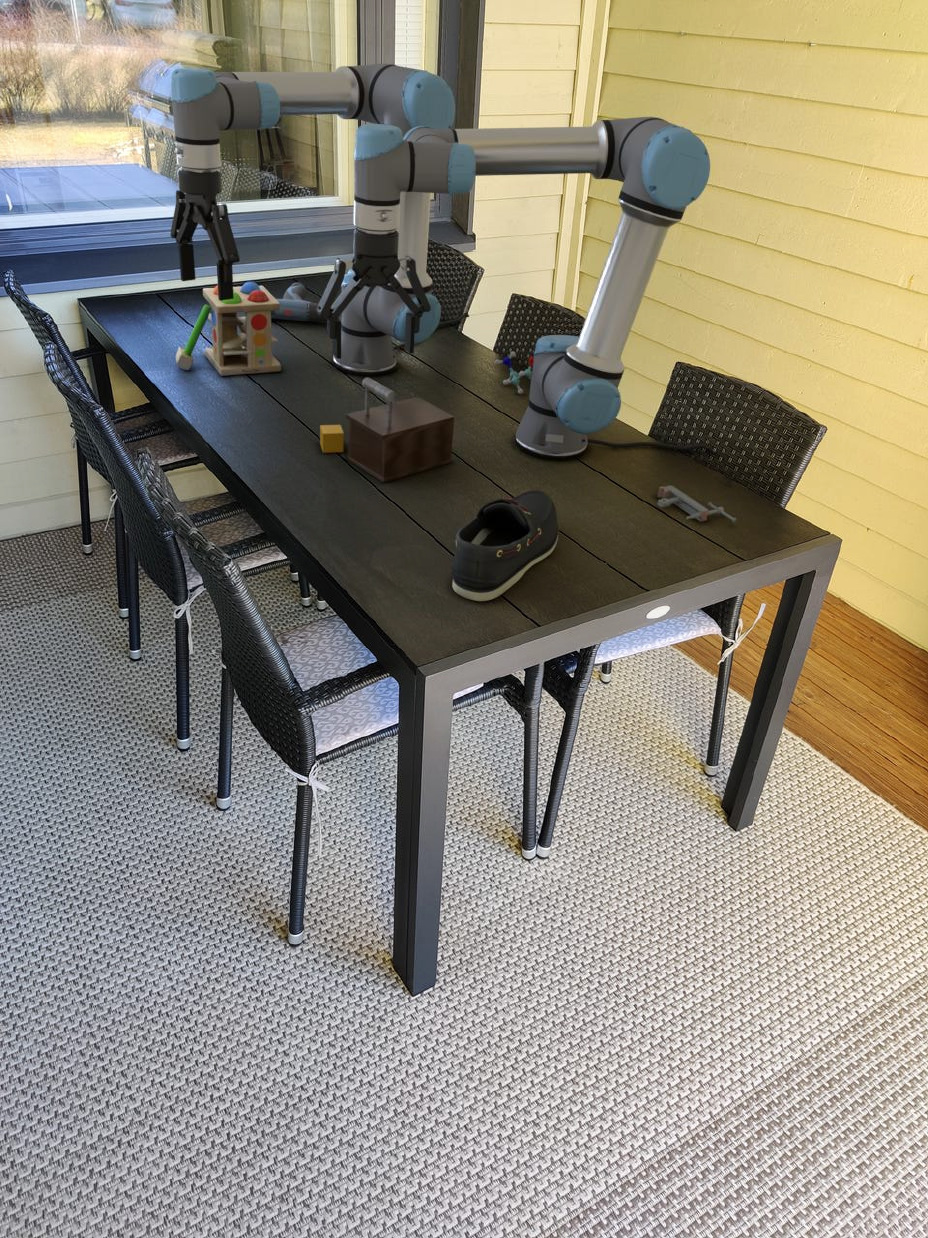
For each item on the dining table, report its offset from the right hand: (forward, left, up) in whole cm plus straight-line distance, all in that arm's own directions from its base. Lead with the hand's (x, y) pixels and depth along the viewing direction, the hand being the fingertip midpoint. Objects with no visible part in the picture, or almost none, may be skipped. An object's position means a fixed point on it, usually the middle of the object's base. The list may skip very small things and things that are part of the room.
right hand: (373, 353), depth 175 cm
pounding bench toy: (+14, -64, -24) cm, 69 cm away
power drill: (-15, -99, -24) cm, 103 cm away
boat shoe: (-13, +34, -24) cm, 44 cm away
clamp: (-55, +29, -24) cm, 66 cm away
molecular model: (-49, -37, -24) cm, 66 cm away
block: (+3, -14, -24) cm, 28 cm away
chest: (-8, -5, -24) cm, 26 cm away
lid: (-8, -5, -15) cm, 18 cm away
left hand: (+23, -29, +4) cm, 37 cm away
